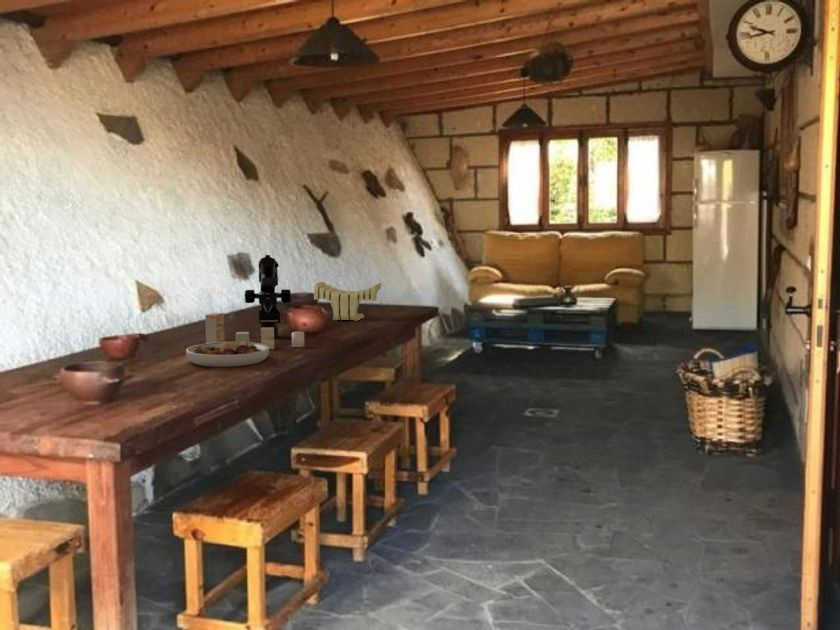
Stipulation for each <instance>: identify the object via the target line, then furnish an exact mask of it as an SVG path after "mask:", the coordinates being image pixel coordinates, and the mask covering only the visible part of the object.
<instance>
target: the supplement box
mask: <svg viewBox="0 0 840 630" xmlns="http://www.w3.org/2000/svg"><path fill="white" fill-rule="evenodd" d="M204 318H205V344H207V343H217V342H225V312H213V313H208V314H206V315H205V317H204Z"/></svg>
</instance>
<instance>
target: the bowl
mask: <svg viewBox="0 0 840 630" xmlns="http://www.w3.org/2000/svg"><path fill="white" fill-rule="evenodd" d="M269 353H270V349H269V346H267V345H265V344H261V342H260V343H259V342H252V341H251V342H250V341H249V342H247V341H242V342H236V341H226V340H225V341H224V342H217V343H207V344H206V343H201V344H197V345H192V346H190V347H188V348H186V349H185V354H186V357H187V359H188V360H189V361H190V362H191V363H192V364H195V365H197V366H202V367H209V368H210V367H211V368H212V367H213V368H231V367H232V368H233V367H234V368H235V367H244V366H250V365H256V364H259V363H261V362H263V361H264V360H265V359H266V358H267V357H268V355H269Z"/></svg>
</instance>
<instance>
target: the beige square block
mask: <svg viewBox="0 0 840 630" xmlns="http://www.w3.org/2000/svg"><path fill="white" fill-rule="evenodd" d="M303 346H304V347H305V331H298V330H297V331H291V348H292V347H303ZM304 347H303V348H304Z"/></svg>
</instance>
